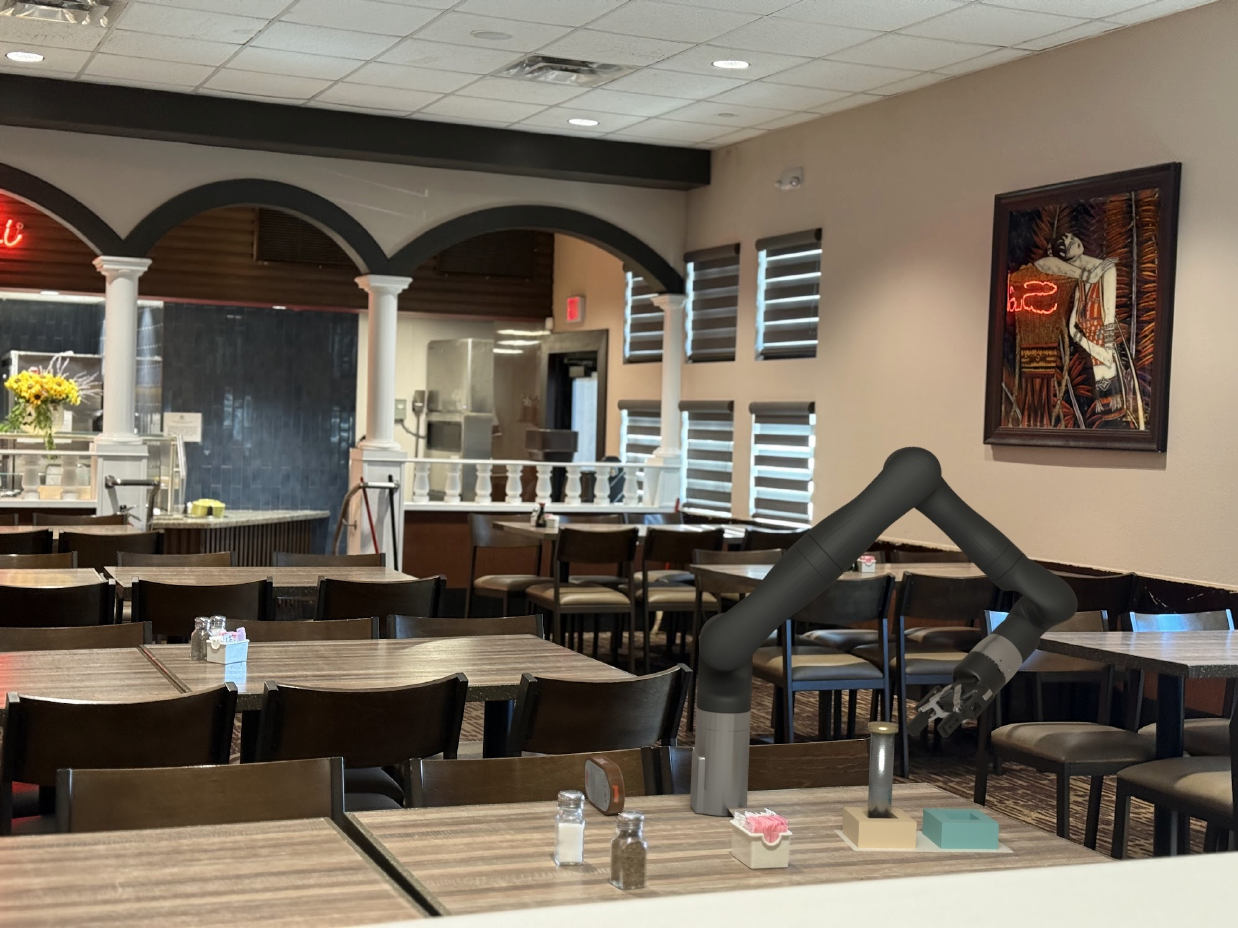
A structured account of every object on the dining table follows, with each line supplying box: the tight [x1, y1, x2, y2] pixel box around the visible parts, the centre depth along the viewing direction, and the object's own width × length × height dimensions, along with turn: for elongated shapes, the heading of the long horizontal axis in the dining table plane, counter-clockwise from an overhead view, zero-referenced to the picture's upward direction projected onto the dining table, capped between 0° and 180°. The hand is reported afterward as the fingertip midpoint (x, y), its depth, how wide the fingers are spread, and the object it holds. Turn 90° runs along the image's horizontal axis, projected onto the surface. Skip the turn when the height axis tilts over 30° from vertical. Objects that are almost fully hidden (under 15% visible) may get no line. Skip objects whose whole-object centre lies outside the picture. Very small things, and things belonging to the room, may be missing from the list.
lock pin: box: [867, 721, 899, 819], centre depth 224 cm, size 5×5×18 cm
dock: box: [833, 806, 1015, 854], centre depth 225 cm, size 25×12×6 cm, turn 96°
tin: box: [583, 754, 626, 816], centre depth 243 cm, size 15×3×8 cm, turn 19°
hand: (925, 732), depth 228 cm, fingers open, 8 cm apart
